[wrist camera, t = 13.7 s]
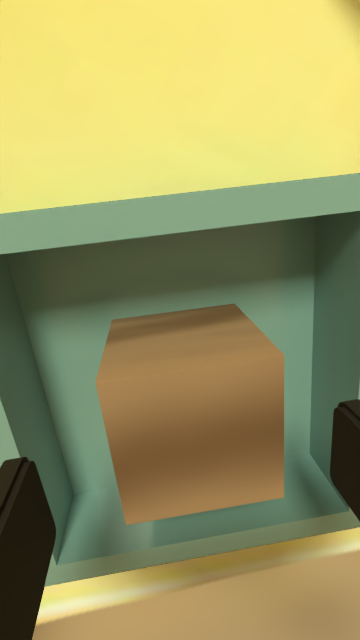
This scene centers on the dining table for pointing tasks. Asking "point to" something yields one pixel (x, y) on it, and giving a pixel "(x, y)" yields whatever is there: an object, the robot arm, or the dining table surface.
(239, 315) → the walnut cube
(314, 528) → the stoneware box
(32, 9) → the dining table surface
